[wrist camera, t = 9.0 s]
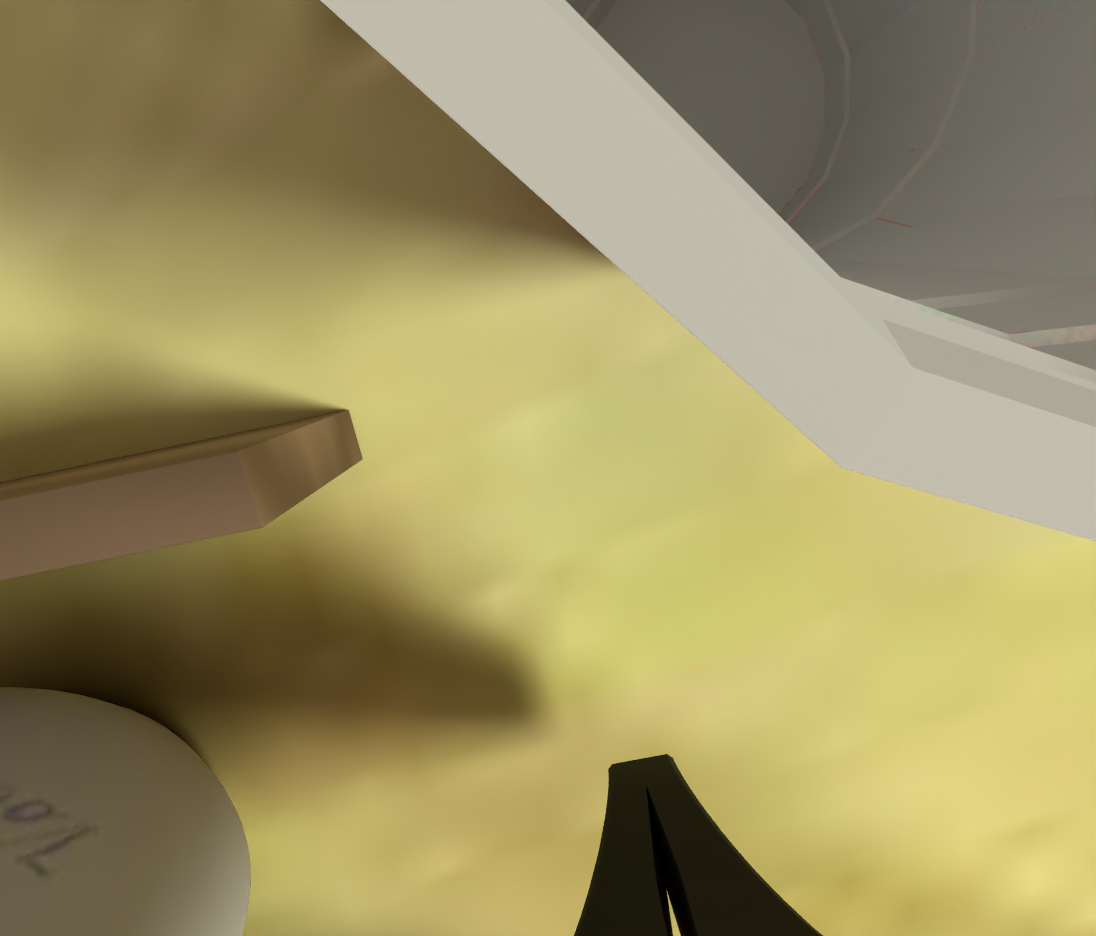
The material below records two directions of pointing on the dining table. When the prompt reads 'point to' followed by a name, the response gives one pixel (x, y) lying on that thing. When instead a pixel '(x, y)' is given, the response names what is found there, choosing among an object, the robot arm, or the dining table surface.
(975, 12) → the plastic cup
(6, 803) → the teacup
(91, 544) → the cubby
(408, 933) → the dining table surface
